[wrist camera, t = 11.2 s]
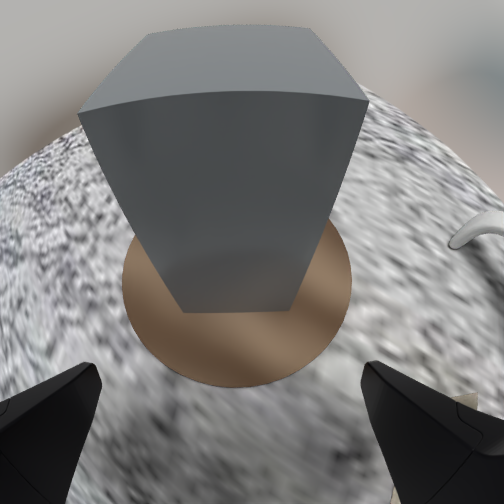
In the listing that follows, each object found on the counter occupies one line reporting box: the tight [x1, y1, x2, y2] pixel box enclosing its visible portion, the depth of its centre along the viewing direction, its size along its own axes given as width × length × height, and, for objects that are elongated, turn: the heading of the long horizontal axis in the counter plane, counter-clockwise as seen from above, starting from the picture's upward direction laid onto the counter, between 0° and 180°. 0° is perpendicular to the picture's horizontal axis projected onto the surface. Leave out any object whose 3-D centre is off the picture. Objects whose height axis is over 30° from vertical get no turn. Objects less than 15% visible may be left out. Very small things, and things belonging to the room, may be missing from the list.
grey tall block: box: [77, 25, 369, 313], centre depth 13 cm, size 7×7×14 cm
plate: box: [122, 218, 352, 388], centre depth 19 cm, size 16×16×1 cm
